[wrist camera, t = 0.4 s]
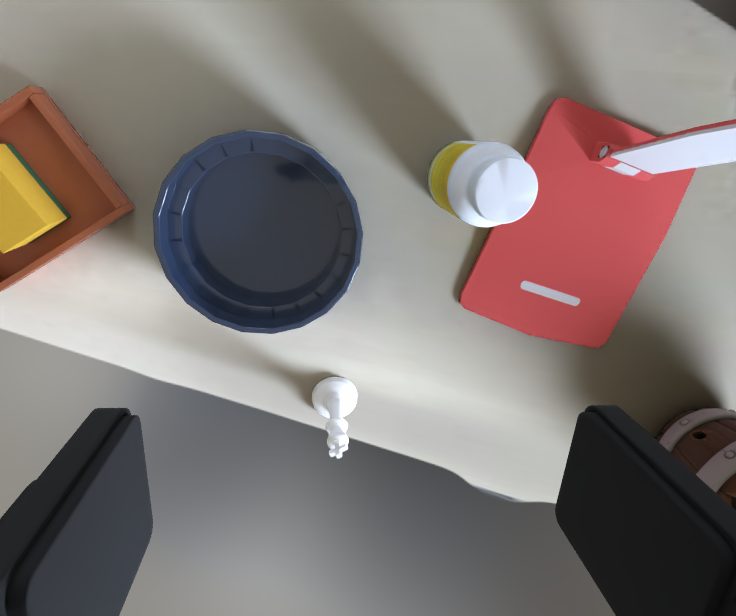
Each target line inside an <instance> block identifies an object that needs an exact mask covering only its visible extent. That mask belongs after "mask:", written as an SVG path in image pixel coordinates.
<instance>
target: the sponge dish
mask: <svg viewBox="0 0 736 616" xmlns="http://www.w3.org/2000/svg"><path fill="white" fill-rule="evenodd" d="M0 144H12V145H13V147H14V148H15V149H16V150H17V151H18V153H19V154H20V155H21V156H22V157H23V159H24V160H25V161H26V162H27V163H28V165H29V166H30V167H31V168H32V169H33V171H34V172H35V173H36V174H37V176H38V177H39V178H40V179H41V180H42V182H43V183H44V184H45V185H46V186H47V188H48V189H49V190H50V191H51V192H52V194H53V195H54V196H55V197H56V198H57V200H58V201H59V202H60V203H61V204H62V206H63V207H64V208H65V209H66V210H67V212H68V213H69V214H70V215H71V218H69V219H67V220H66V221H64V222H63V223H61V224H60V225H58V226H56V227H55V228H53V229H52V230H50V231H49V232H47V233H45V234H44V235H42V236H41V237H39V238H37V239H36V240H34V241H33V242H31V243H28V244H26V245H23V246H21V247H18V248H16V249H13V250H11V251H8V252H5V253H2V252H1V251H0V292H1V291H3V290H5V289H6V288H9V287H10V286H12V285H14V284H15V283H17V282H18V281H20V280H22V279H23V278H25V277H26V276H28V275H30V274H31V273H33V272H34V271H36V270H38V269H39V268H41V267H42V266H44V265H46V264H47V263H49V262H50V261H52V260H53V259H55V258H57V257H58V256H60V255H61V254H63V253H65V252H66V251H68V250H69V249H71V248H73V247H74V246H76V245H77V244H79V243H81V242H82V241H84V240H85V239H87V238H89V237H90V236H92V235H93V234H95V233H97V232H98V231H100V230H101V229H103V228H105V227H106V226H108V225H109V224H111V223H113V222H114V221H116V220H117V219H119V218H121V217H122V216H124V215H125V214H127V213H129V212H130V211H132V210H133V209H135V208H134V206H133V205H132V204H131V202H130V201H129V200H128V198H127V197H126V196H125V195H124V193H123V192H122V191H121V189H120V188H119V187H118V185H117V184H116V183H115V182H114V180H113V179H112V178H111V176H110V175H109V174H108V172H107V171H106V170H105V169H104V167H103V166H102V165H101V163H100V162H99V161H98V159H97V158H96V157H95V156H94V154H93V153H92V152H91V150H90V149H89V148H88V146H87V145H86V144H85V143H84V141H83V140H82V139H81V137H80V136H79V135H78V133H77V132H76V131H75V130H74V128H73V127H72V126H71V124H70V123H69V122H68V120H67V119H66V118H65V117H64V115H63V114H62V113H61V111H60V110H59V109H58V107H57V106H56V105H55V104H54V102H53V101H52V100H51V98H50V97H49V96H48V94H47V93H46V92H45V91H44V89H43V88H39V87H33V86H27V87H26V88H24V89H23V90H21V91H20V92H18V93H17V94H16V95H14V96H13V97H11V98H10V99H8V100H7V101H5V102H4V103H2V104H1V105H0Z"/></svg>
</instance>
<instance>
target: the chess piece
mask: <svg viewBox="0 0 736 616" xmlns="http://www.w3.org/2000/svg"><path fill="white" fill-rule="evenodd" d="M312 402H313V406H314V408H315V410H316V411H317V412H318V413H319V414H320V415H322V416H324V417H327V418H330V420H329V421H328V422H327V423H326V430H327V432H328V433H329V434H330V435H329V436H328V439H327V445H328V447H329V448H330V449H332V450H330V451H329V454H330V456H331V457H333V456H335V455H336V457H337V458H338V459H339V458H341V457H342V452H344V451H346V450H348V446H347V445H348V442H349V440H348V437H347V435H346V434H345V432H346V430H347V427H348V425H347V422H346V421H345V420H344V419H343V418H342V417H344V416H346V415H348V414H349V413H350V412H351V411H352V410H353V409H354V407H355V405H356V402H357V391H356V388H355V387H354V385H353V384H352V383H351V382H350V381H348V380H347V379H345V378H341V377H329V378H326V379H324V380H322V381H320V382H319V383H318V384H317V385H316V386H315V388H314V390H313V392H312Z"/></svg>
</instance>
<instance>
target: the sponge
mask: <svg viewBox="0 0 736 616" xmlns="http://www.w3.org/2000/svg"><path fill="white" fill-rule="evenodd" d="M69 218H71V215H70V214H69V213H68V212H67V210H66V209H65V208H64V207H63V206H62V204H61V203H60V202H59V201H58V200H57V198H56V197H55V196H54V195H53V194H52V192H51V191H50V190H49V189H48V188H47V186H46V185H45V184H44V183H43V182H42V180H41V179H40V178H39V177H38V176H37V174H36V173H35V172H34V171H33V169H32V168H31V167H30V166H29V165H28V163H27V162H26V161H25V160H24V159H23V157H22V156H21V155H20V154H19V153H18V151H17V150H16V149H15V148H14V147H13V145H12V144H0V251H1V252H2V253H5V252H8V251H11V250H13V249H16V248H18V247H21V246H23V245H26V244H28V243H31V242H33V241H34V240H36V239H37V238H39V237H41V236H42V235H44V234H45V233H47V232H49V231H50V230H52V229H53V228H55V227H56V226H58V225H60V224H61V223H63V222H64V221H66V220H67V219H69Z"/></svg>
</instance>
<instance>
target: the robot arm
mask: <svg viewBox="0 0 736 616" xmlns="http://www.w3.org/2000/svg"><path fill="white" fill-rule="evenodd" d="M555 512H556V518H557V522H558V524H559V526H560V527H561V529H562V530H563V532H564V534H565V535H566V537H567V539H568V540H569V542H570V543H571V545H572V546H573V548H574V550H575V551H576V553H577V554H578V555H579V558H580V559H581V561H582V562H583V564H584V566H585V567H586V569H587V570H588V572H589V573H590V575H591V577H592V578H593V580H594V581H595V583H596V584H597V586H598V588H599V589H600V591H601V593H602V594H603V596H604V597H605V599H606V601H607V602H608V604H609V605H610V607H611V608H612V610H613V612H614V613H615V615H616V616H736V510H735V509H734V508H733V507H731V506H730V505H729V504H728V503H727V502H726V501H725V500H724V499H722V498H721V497H720V496H719V495H718V494H717V493H716V492H715V491H713V490H712V489H711V488H710V487H709V486H708V485H707V484H706V483H704V482H703V481H702V480H701V479H700V478H699V477H698V476H697V475H695V474H694V473H693V472H692V471H691V470H690V469H689V468H688V467H686V466H685V465H684V464H683V463H682V462H681V461H680V460H678V459H677V458H676V457H675V456H674V455H673V454H672V453H671V452H669V451H668V450H667V449H666V448H665V447H664V446H663V445H662V444H660V443H659V442H658V441H657V440H656V439H655V438H654V437H653V436H651V435H650V434H649V433H648V432H647V431H646V430H645V429H644V428H642V427H641V426H640V425H639V424H638V423H637V422H636V421H635V420H633V419H632V418H631V417H630V416H629V415H628V414H627V413H626V412H624V411H623V410H622V409H621V408H620V407H618V406H615V405H591V406H588V407H587V408H586V409H585V411H584V412H582V413H580V414H579V416H578V419H577V423H576V427H575V431H574V435H573V439H572V443H571V447H570V451H569V455H568V459H567V463H566V467H565V471H564V475H563V479H562V483H561V487H560V491H559V495H558V499H557V503H556V509H555ZM152 528H153V519H152V511H151V502H150V495H149V486H148V479H147V471H146V463H145V454H144V446H143V438H142V430H141V423H140V418H139V417H138V416H137V415H131V413H130V411H129V409H127V408H97V409H94V410H93V411H92V412H91V413H90V415H89V416H88V417H87V418H86V420H85V421H84V422H83V423H82V425H81V426H80V427H79V428H78V429H77V431H76V432H75V433H74V434H73V436H72V437H71V438H70V439H69V441H68V442H67V443H66V444H65V445H64V447H63V448H62V449H61V450H60V452H59V453H58V454H57V455H56V457H55V458H54V459H53V460H52V461H51V463H50V464H49V465H48V466H47V468H46V469H45V470H44V471H43V472H42V474H41V475H40V476H39V477H38V479H37V480H35V481H33V482H32V483H31V484H29V486H27V487H26V488H25V490H24V491H23V492H22V493H21V494H20V496H19V497H18V498H17V499H16V501H15V502H14V503H13V504H12V505H11V507H10V508H9V509H8V510H7V511H6V513H5V514H4V515H3V516H2V517H1V519H0V616H119V615H120V612H121V609H122V607H123V604H124V602H125V600H126V597H127V595H128V592H129V590H130V588H131V585H132V583H133V580H134V578H135V575H136V573H137V571H138V568H139V566H140V563H141V561H142V558H143V556H144V554H145V551H146V549H147V546H148V544H149V541H150V538H151V534H152Z"/></svg>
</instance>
